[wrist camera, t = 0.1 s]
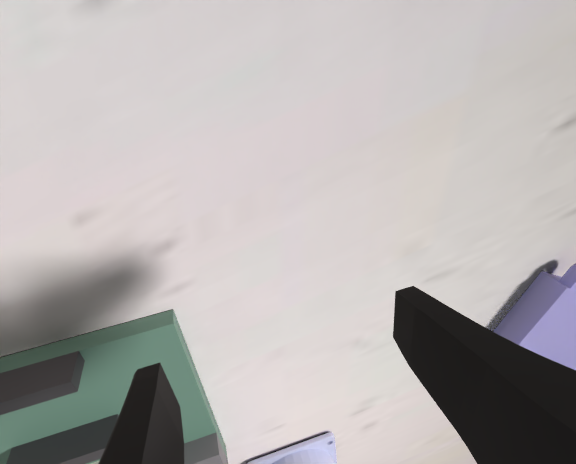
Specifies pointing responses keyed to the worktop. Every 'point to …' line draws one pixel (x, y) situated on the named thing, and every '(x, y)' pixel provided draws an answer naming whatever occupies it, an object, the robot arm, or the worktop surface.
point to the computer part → (545, 318)
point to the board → (98, 394)
